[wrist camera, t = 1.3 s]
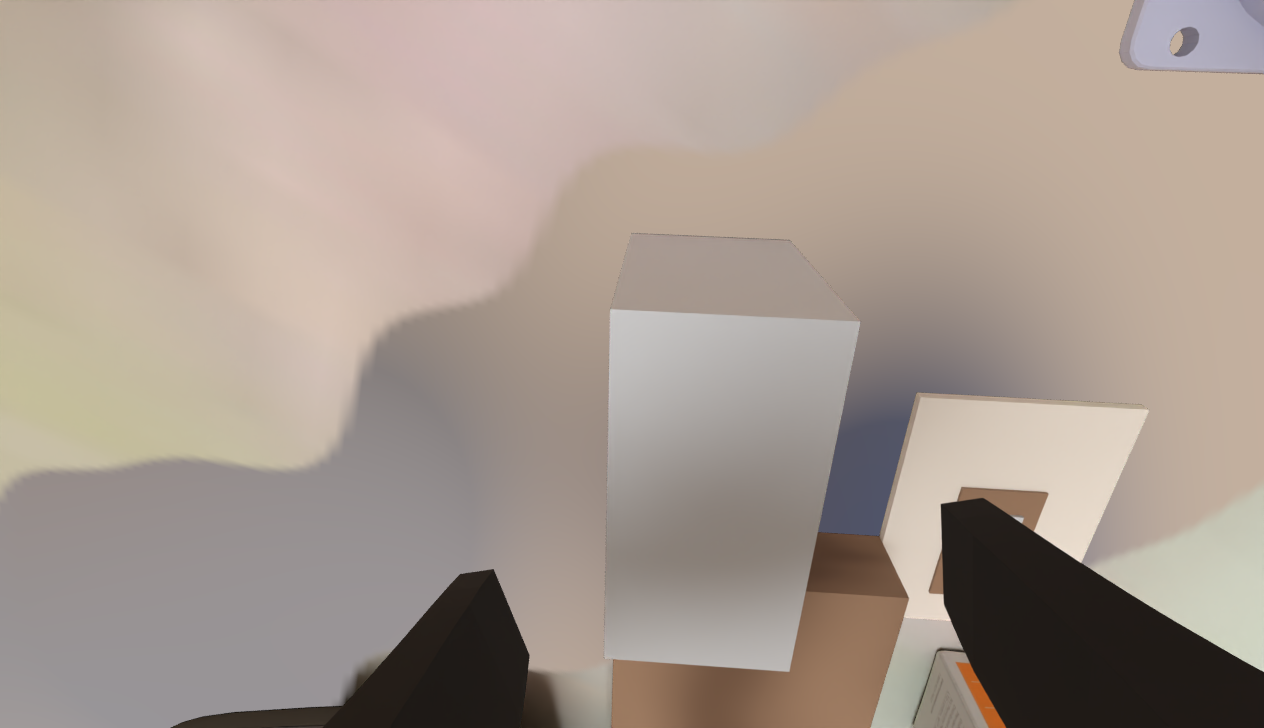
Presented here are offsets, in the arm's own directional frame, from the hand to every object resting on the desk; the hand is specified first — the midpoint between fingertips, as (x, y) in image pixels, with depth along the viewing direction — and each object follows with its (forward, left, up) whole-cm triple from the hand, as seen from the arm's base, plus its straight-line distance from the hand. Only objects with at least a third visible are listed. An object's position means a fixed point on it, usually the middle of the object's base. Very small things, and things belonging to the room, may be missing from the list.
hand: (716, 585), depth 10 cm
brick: (0, 0, -8) cm, 8 cm away
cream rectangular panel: (-9, +4, -8) cm, 12 cm away
